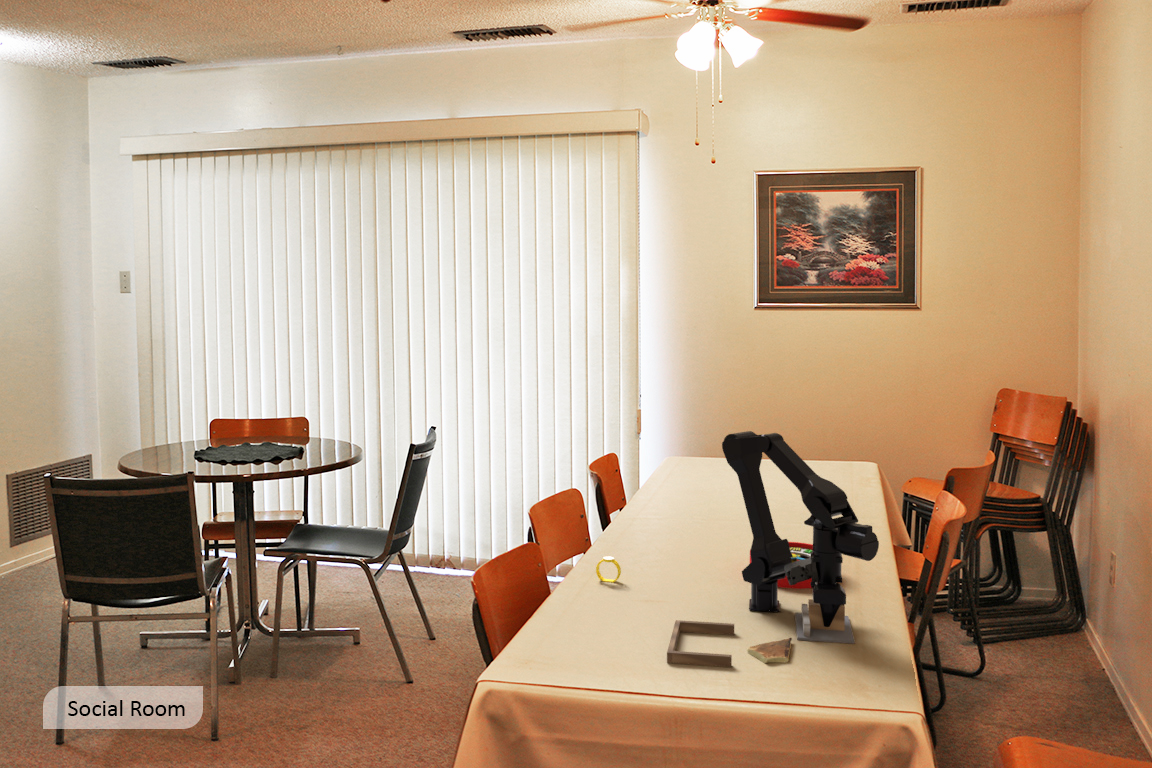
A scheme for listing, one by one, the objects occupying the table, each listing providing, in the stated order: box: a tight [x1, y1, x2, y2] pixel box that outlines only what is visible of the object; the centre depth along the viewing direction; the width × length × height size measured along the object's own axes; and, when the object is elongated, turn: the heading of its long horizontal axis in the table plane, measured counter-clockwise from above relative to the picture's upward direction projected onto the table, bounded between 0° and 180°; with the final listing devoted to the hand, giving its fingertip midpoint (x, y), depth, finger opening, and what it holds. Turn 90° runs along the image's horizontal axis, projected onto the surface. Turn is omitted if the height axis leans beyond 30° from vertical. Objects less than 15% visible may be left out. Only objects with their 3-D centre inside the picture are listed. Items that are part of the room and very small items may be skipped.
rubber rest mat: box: [794, 612, 856, 644], centre depth 186 cm, size 14×11×1 cm
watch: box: [595, 555, 622, 583], centre depth 218 cm, size 6×3×6 cm, turn 69°
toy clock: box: [749, 541, 813, 590], centre depth 220 cm, size 20×6×20 cm
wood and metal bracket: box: [801, 598, 846, 636], centre depth 185 cm, size 12×8×5 cm
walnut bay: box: [666, 619, 735, 668], centre depth 177 cm, size 17×12×2 cm
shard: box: [746, 637, 793, 664], centre depth 173 cm, size 11×8×2 cm
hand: (826, 623), depth 186 cm, fingers closed on wood and metal bracket, 3 cm apart
